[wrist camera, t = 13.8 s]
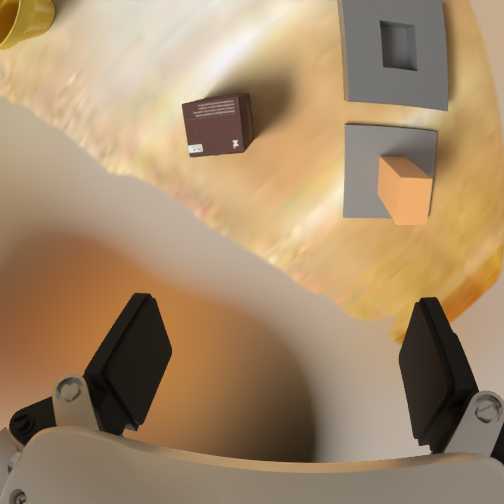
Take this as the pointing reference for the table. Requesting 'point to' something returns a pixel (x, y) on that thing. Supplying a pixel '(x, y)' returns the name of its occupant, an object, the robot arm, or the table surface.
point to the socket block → (394, 52)
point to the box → (218, 125)
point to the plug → (404, 190)
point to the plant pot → (24, 20)
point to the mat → (367, 163)
